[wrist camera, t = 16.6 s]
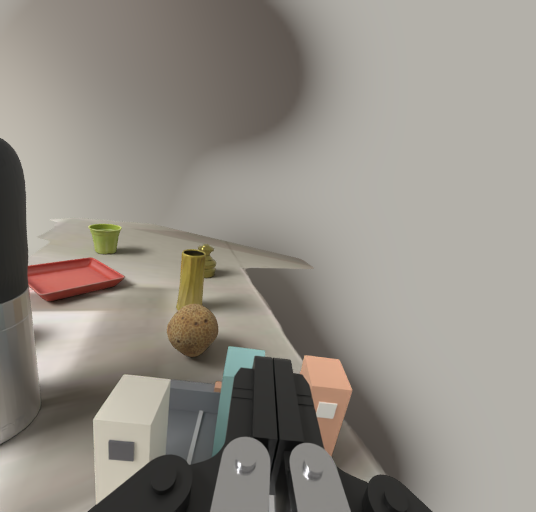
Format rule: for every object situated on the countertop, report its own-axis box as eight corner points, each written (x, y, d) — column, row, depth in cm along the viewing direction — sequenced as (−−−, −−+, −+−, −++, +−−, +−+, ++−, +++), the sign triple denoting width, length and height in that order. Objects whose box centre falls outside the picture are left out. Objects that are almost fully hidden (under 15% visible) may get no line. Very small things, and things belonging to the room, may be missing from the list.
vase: (179, 300, 68) (183, 247, 64) (203, 303, 69) (209, 250, 64) (173, 312, 62) (177, 254, 58) (200, 315, 63) (205, 258, 59)
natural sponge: (153, 357, 47) (155, 307, 44) (185, 333, 55) (189, 289, 52) (196, 377, 44) (201, 325, 42) (223, 349, 52) (229, 304, 50)
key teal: (249, 463, 31) (265, 381, 28) (211, 460, 31) (222, 376, 28) (250, 424, 36) (264, 350, 33) (217, 421, 36) (228, 346, 33)
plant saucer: (92, 266, 79) (92, 256, 78) (126, 287, 70) (126, 276, 70) (11, 280, 64) (9, 267, 64) (41, 309, 56) (39, 295, 55)
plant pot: (112, 257, 87) (112, 232, 85) (83, 253, 87) (82, 227, 84) (126, 249, 96) (126, 226, 94) (99, 246, 96) (99, 222, 93)
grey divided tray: (349, 559, 26) (364, 522, 24) (81, 542, 24) (78, 500, 22) (317, 421, 40) (325, 392, 38) (148, 404, 38) (149, 372, 37)
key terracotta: (327, 470, 32) (352, 391, 29) (291, 467, 32) (312, 386, 28) (318, 431, 37) (339, 359, 34) (287, 428, 37) (304, 355, 33)
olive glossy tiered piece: (218, 272, 90) (221, 244, 87) (210, 280, 83) (213, 249, 80) (197, 268, 91) (199, 240, 88) (187, 275, 84) (190, 245, 81)
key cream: (145, 524, 25) (149, 426, 21) (95, 521, 24) (91, 421, 21) (164, 466, 30) (170, 379, 26) (123, 463, 29) (123, 374, 26)
